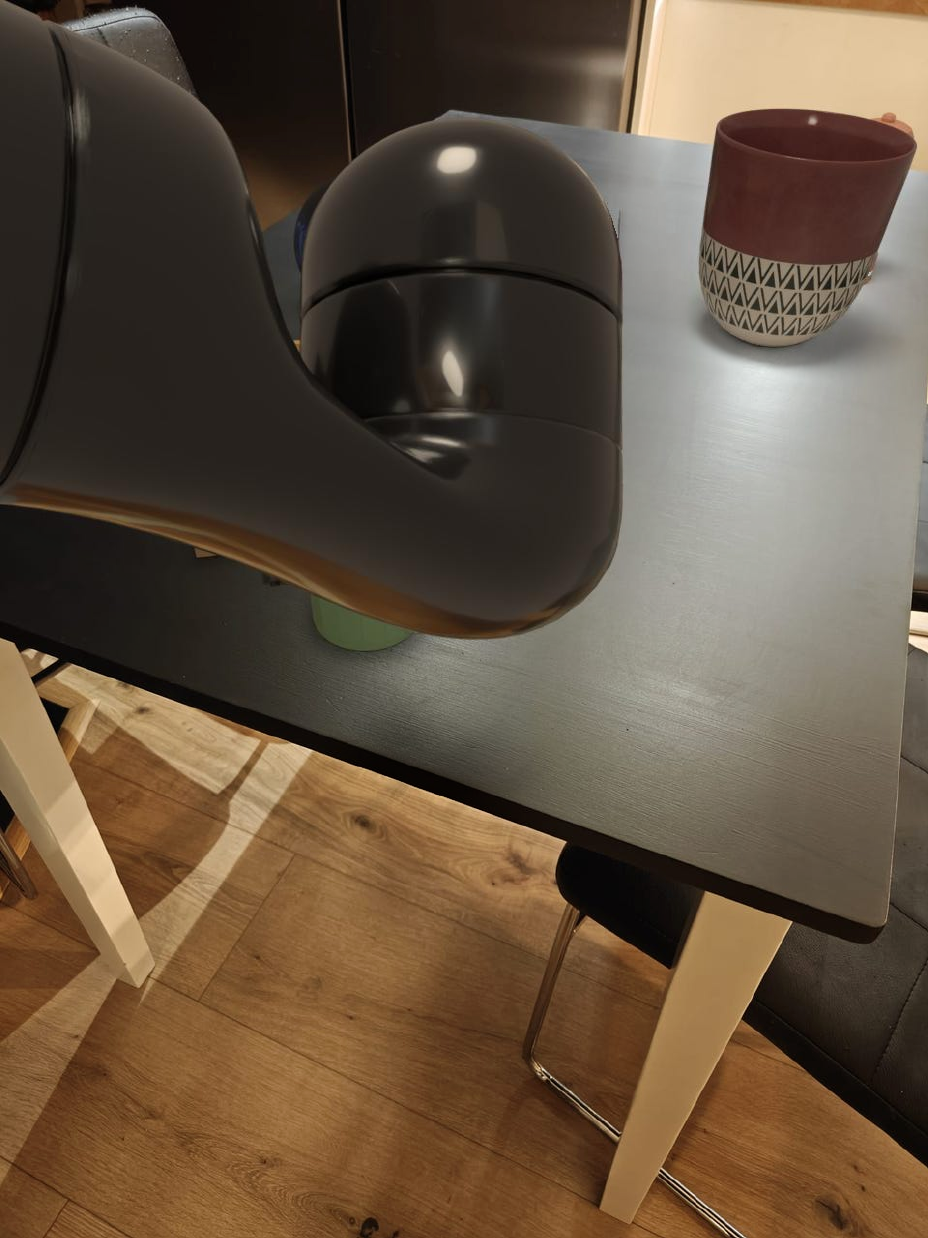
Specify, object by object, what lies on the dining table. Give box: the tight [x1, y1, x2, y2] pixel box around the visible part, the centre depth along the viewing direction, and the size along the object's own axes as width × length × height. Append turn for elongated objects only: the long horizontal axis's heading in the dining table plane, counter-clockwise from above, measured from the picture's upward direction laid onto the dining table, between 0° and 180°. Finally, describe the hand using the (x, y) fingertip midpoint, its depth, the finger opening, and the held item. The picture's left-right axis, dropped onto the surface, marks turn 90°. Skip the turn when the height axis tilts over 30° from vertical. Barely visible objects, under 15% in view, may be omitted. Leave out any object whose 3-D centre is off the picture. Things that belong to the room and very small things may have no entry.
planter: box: [698, 108, 918, 348], centre depth 98 cm, size 20×20×21 cm
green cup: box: [309, 594, 414, 652], centre depth 64 cm, size 8×8×13 cm
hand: (376, 565), depth 53 cm, fingers closed
